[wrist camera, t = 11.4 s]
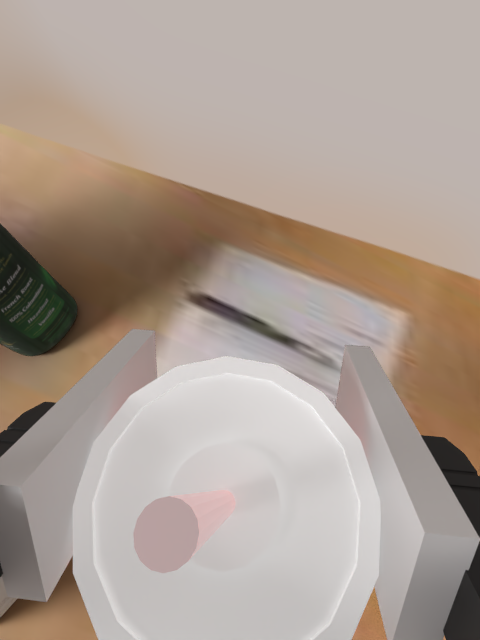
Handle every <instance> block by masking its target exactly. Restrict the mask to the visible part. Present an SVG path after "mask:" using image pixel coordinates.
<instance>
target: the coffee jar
mask: <svg viewBox="0 0 480 640" xmlns="http://www.w3.org/2000/svg"><path fill="white" fill-rule="evenodd" d="M76 316H77V304H76V302H75V300H74V299H73V297H72V296H71V295H70V294H69V293H68V292H67V291H66V290H65V289H64V288H63V287H62V286H61V285H60V284H59V283H58V282H57V281H56V280H55V279H54V278H53V277H52V276H51V275H50V274H49V273H48V272H47V271H46V270H45V269H44V268H43V267H42V266H41V265H40V264H39V263H38V262H37V261H36V260H35V259H34V258H33V257H32V256H31V255H30V253H29V252H28V251H27V250H26V249H25V248H24V247H23V246H22V245H21V244H20V243H19V242H18V241H17V240H16V239H15V238H14V237H13V236H12V235H11V234H10V233H9V232H8V231H7V230H6V229H5V228H4V227H3V226H2V225H1V224H0V344H2V345H4V346H5V347H7V348H9V349H11V350H13V351H15V352H17V353H20V354H22V355H26V356H36V355H40V354H42V353H45V352H47V351H48V350H50V349H51V348H52V347H54V346H55V345H56V344H57V343H58V342H59V341H60V340H61V339H62V338H63V337H64V336H65V335H66V333H67V332H68V331H69V329H70V328H71V326H72V324H73V323H74V321H75V319H76Z"/></svg>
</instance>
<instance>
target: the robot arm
mask: <svg viewBox="0 0 480 640" xmlns="http://www.w3.org/2000/svg"><path fill="white" fill-rule="evenodd" d="M155 379H157V365H156V345H155V331H152V330H138V329H132V330H131V331H130V332H129V333H128V334H127V335H126V336H125V337H124V338H123V339H122V340H121V341H120V342H119V343H117V344H116V345H115V346H114V347H113V348H112V349H111V350H110V351H109V352H108V353H107V354H106V355H105V356H104V357H103V358H102V359H101V360H100V361H99V362H98V363H97V364H96V365H95V366H94V367H93V368H92V369H91V370H90V371H89V372H88V373H87V374H86V375H85V376H84V377H83V378H82V379H80V380H79V381H78V382H77V383H76V384H75V385H74V386H73V387H72V388H71V389H70V390H69V391H68V392H67V393H66V394H65V395H64V396H63V397H62V398H61V399H60V400H59V401H58V402H57V403H52V402H43V403H42V404H40V405H38V406H36V407H34V408H32V409H30V410H28V411H26V412H25V413H23V414H22V415H21V416H20V417H19V418H17V419H16V420H15V421H14V422H13V423H12V424H11V425H10V426H8V429H7V430H4V431H3V432H2V433H0V577H1V576H2V578H3V582H4V585H5V589H6V593H7V596H8V597H13V598H20V599H27V600H35V601H42V602H47V601H48V599H49V597H50V595H51V594H52V592H53V590H54V588H55V586H56V585H57V583H58V581H59V579H60V577H61V576H62V574H63V572H64V570H65V568H66V567H67V565H68V563H69V561H70V559H71V558H72V556H73V504H74V500H75V496H76V492H77V489H78V486H79V483H80V481H81V478H82V475H83V472H84V469H85V466H86V463H87V460H88V457H89V455H90V452H91V449H92V446H93V443H94V441H95V440H96V438H97V437H98V436H99V435H100V433H101V432H102V431H103V430H104V428H105V427H106V426H107V424H108V423H109V422H110V421H111V419H112V418H113V417H114V415H115V414H116V413H117V412H118V410H119V409H120V408H121V407H122V405H123V404H124V403H125V401H126V400H127V399H128V398H129V396H130V395H132V394H133V393H135V392H136V391H138V390H139V389H141V388H143V387H144V386H146V385H147V384H149V383H151V382H152V381H154V380H155ZM335 408H336V409H337V411H338V412H339V413H340V414H341V416H342V417H343V418H344V419H345V421H346V422H347V423H348V425H349V426H350V427H351V428H352V430H353V431H354V432H355V434H356V435H357V436H358V437H359V439H360V440H361V443H362V446H363V449H364V452H365V455H366V458H367V461H368V464H369V467H370V470H371V473H372V476H373V479H374V483H375V486H376V489H377V492H378V495H379V498H380V508H381V524H380V556H379V576H378V579H377V581H376V583H375V586H374V587H375V591H376V595H377V599H378V603H379V607H380V612H381V616H382V620H383V624H384V628H385V632H386V636H387V640H443V637H444V635H445V638H446V640H480V476H478V475H477V471H476V470H475V468H474V467H473V465H472V464H471V463H470V461H469V460H468V458H467V457H466V455H465V454H464V453H463V452H462V451H460V450H459V449H458V448H457V447H455V446H454V445H453V444H452V443H451V442H449V441H448V440H447V439H446V438H444V437H434V436H423V435H420V433H419V431H418V430H417V428H416V426H415V424H414V423H413V421H412V419H411V418H410V416H409V414H408V412H407V411H406V409H405V407H404V405H403V404H402V402H401V400H400V398H399V397H398V395H397V393H396V391H395V390H394V388H393V386H392V384H391V383H390V381H389V379H388V377H387V376H386V374H385V372H384V370H383V369H382V367H381V365H380V364H379V362H378V360H377V358H376V357H375V355H374V353H373V351H372V350H371V348H370V347H367V346H353V345H345V349H344V356H343V362H342V369H341V375H340V382H339V388H338V395H337V401H336V407H335Z"/></svg>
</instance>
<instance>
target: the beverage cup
mask: <svg viewBox="0 0 480 640" xmlns="http://www.w3.org/2000/svg"><path fill="white" fill-rule="evenodd" d="M380 524H381V508H380V498H379V495H378V492H377V489H376V486H375V483H374V479H373V476H372V473H371V470H370V467H369V464H368V461H367V458H366V455H365V452H364V449H363V446H362V443H361V440H360V439H359V437H358V436H357V435H356V434H355V432H354V431H353V430H352V428H351V427H350V426H349V425H348V423H347V422H346V421H345V419H344V418H343V417H342V416H341V414H340V413H339V412H338V411H337V409H336V408H335V407H334V405H333V404H332V403H331V402H330V400H329V399H328V398H327V397H326V395H325V394H324V393H323V392H321V391H320V390H318V389H316V388H315V387H313V386H311V385H310V384H308V383H306V382H305V381H303V380H301V379H300V378H298V377H296V376H295V375H293V374H292V373H290V372H288V371H287V370H285V369H283V368H282V367H280V366H278V365H275V364H270V363H264V362H258V361H252V360H247V359H241V358H235V357H229V356H224V357H219V358H214V359H210V360H205V361H200V362H195V363H190V364H185V365H180V366H176V367H174V368H173V369H171V370H170V371H168V372H166V373H165V374H163V375H162V376H160V377H158V378H157V379H155V380H154V381H152V382H151V383H149V384H147V385H146V386H144V387H143V388H141V389H139V390H138V391H136V392H135V393H133V394H132V395H130V396H129V398H128V399H127V400H126V401H125V403H124V404H123V405H122V407H121V408H120V409H119V410H118V412H117V413H116V414H115V415H114V417H113V418H112V419H111V421H110V422H109V423H108V424H107V426H106V427H105V428H104V430H103V431H102V432H101V433H100V435H99V436H98V437H97V438H96V440H95V441H94V443H93V446H92V449H91V452H90V455H89V457H88V460H87V463H86V466H85V469H84V472H83V475H82V478H81V481H80V483H79V486H78V489H77V492H76V496H75V500H74V504H73V575H74V577H75V580H76V583H77V585H78V588H79V590H80V593H81V596H82V598H83V601H84V603H85V606H86V609H87V611H88V614H89V616H90V619H91V622H92V624H93V627H94V630H95V632H96V635H97V637H98V640H351V639H352V637H353V635H354V632H355V630H356V628H357V625H358V623H359V621H360V618H361V616H362V614H363V611H364V609H365V607H366V604H367V602H368V600H369V597H370V595H371V593H372V590H373V588H374V586H375V583H376V581H377V579H378V576H379V556H380Z"/></svg>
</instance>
